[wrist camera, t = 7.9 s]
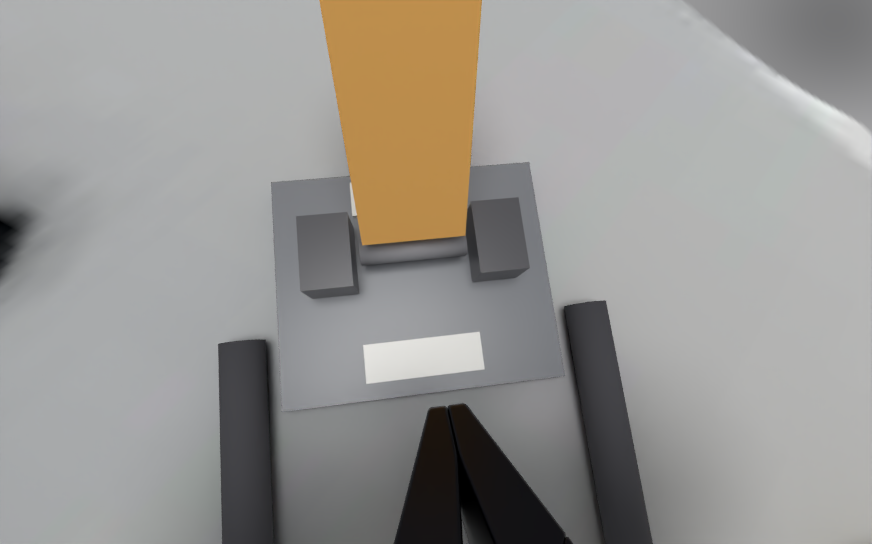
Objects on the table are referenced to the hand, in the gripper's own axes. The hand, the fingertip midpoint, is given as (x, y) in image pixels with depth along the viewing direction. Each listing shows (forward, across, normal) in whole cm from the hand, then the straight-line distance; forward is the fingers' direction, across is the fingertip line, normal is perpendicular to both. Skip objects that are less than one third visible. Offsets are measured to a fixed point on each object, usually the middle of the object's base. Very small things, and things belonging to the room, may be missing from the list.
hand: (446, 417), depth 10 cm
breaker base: (+11, 0, +2) cm, 11 cm away
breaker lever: (+9, 0, +1) cm, 9 cm away
